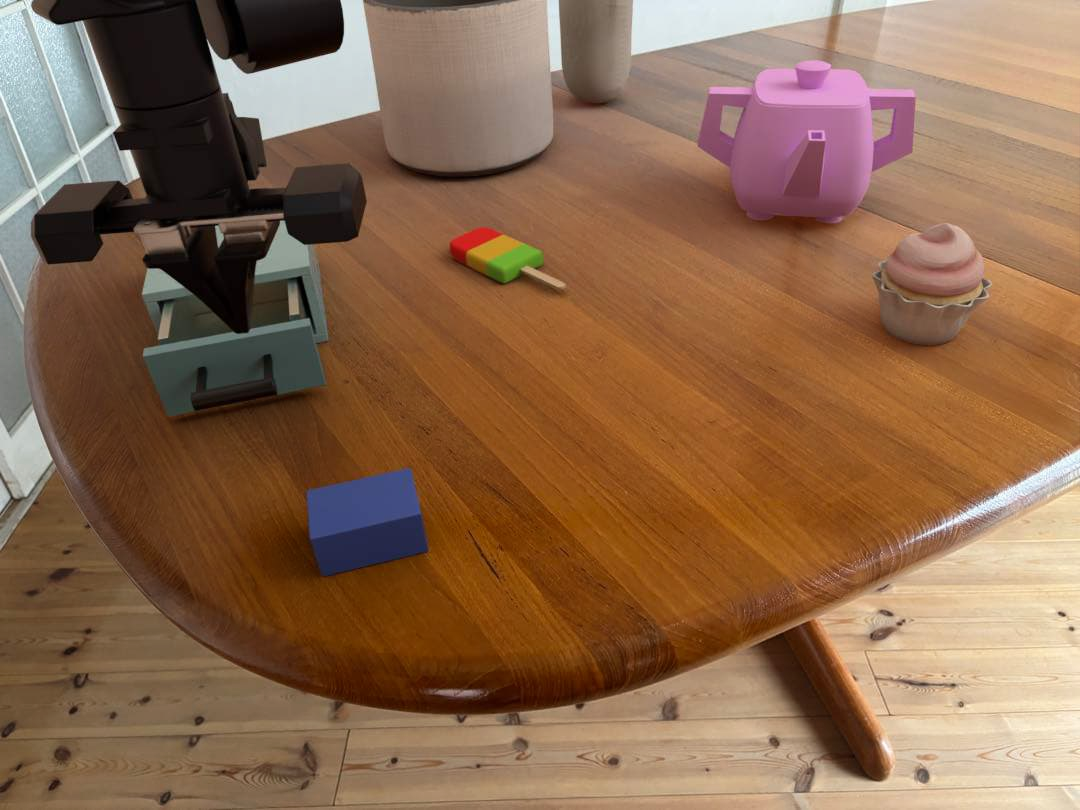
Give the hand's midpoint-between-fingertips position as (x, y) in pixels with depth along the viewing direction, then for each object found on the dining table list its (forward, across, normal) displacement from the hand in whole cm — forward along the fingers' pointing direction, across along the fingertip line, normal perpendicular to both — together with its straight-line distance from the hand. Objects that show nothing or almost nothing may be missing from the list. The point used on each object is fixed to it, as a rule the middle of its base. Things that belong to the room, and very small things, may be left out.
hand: (244, 330), depth 55 cm
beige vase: (+12, -33, -78) cm, 86 cm away
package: (+12, -7, +9) cm, 17 cm away
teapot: (+12, -51, -38) cm, 64 cm away
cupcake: (+12, -53, -11) cm, 56 cm away
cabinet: (+12, +7, -23) cm, 27 cm away
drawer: (+11, +5, -11) cm, 16 cm away
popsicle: (+12, -18, -27) cm, 35 cm away
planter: (+12, -14, -62) cm, 64 cm away
